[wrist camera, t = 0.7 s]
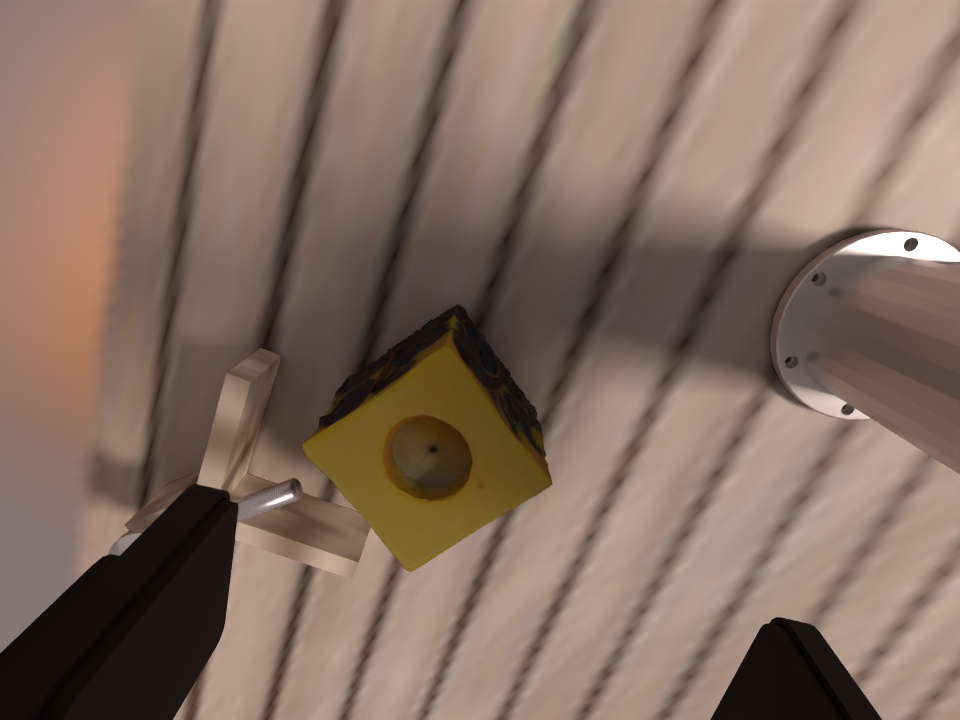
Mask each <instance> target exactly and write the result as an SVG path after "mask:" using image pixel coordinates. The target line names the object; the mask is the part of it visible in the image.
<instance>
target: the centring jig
mask: <svg viewBox="0 0 960 720" xmlns="http://www.w3.org/2000/svg"><path fill="white" fill-rule="evenodd" d="M281 357H282V356H281V355H279V354H276V353H273V352H271V351H268V350H265V349H263V348H260V349H258V350H257V351H256V352H254V353H253V354H252V355H250V356H249V357H248V358H246V359H245V360H243V361H242V362H241V363H239V364H238V365H237V366H235V367H234V368H233V369H231V370H230V371H229V372H227V373H226V377H225V380H224V384H223V388H222V392H221V395H220V399H219V403H218V407H217V410H216V414H215V418H214V422H213V425H212V429H211V433H210V437H209V440H208V444H207V448H206V452H205V455H204V459H203V463H202V467H201V470H200V471H199V472H196V473H194V474H191V475H189V476H186V477H184V478H181V479H179V480H176V481H173V482H171V483H168V484H167V485H166V486H165V487H164V488H163V489H162V490H161V491H160V492H159V493H157V494H156V495H155V496H154V497H153V498H152V499H151V500H150V501H149V502H148V503H147V504H146V505H145V506H144V507H143V508H142V509H141V510H140V511H138V512H137V513H136V514H135V515H134V516H133V517H132V518H131V519H130V520H129V521H128V522H127V523H126V524H125V526H126V527H127V529H128V530H129V531H130V530H132V529H136V528H148V527H149V526H150V525H151V524H152V523H153V522H154V521H155V520H156V519H157V518H158V517H159V516H160V515H161V514H162V513H163V512H164V511H165V510H166V509H167V508H168V507H169V506H170V505H171V504H172V503H173V502H174V501H175V500H176V499H177V498H178V497H179V496H180V495H181V494H182V493H183V492H184V491H185V490H186V489H187V488H188V487H189V486H190V485H192V484H199V485H203V486H207V487H212V488H216V489H220V490H225V491H228V492H229V494H230V501H233V500H236V499H239V498H241V497H244V496H247V495H249V494H252V493H255V492H257V491H260V490H262V489H265V488H268V487H270V486H273V485H276V484H275V483H272V482H270V481H267V480H264V479H261V478H258V477H255V476H252V475H250V474H246V473H247V470H248V467H249V464H250V460H251V457H252V454H253V450H254V447H255V444H256V440H257V437H258V434H259V430H260V427H261V424H262V420H263V417H264V414H265V410H266V407H267V404H268V400H269V397H270V394H271V390H272V387H273V384H274V380H275V377H276V374H277V370H278V367H279V364H280V360H281ZM237 484H238V485H237ZM232 490H233V491H232ZM370 527H371V526H370V525H369V524H368V523H367V522H366V520H365V519H364V518H363V517H362V516H361V515H360V513H358V512H355V511H353V510H350V509H347V508H344V507H341V506H338V505H335V504H333V503H330V502H327V501H324V500H321V499H318V498H315V497H313V496H310V495H307V494H304V493H303V494H302V498H301V499H300V500H297V501H295V502H292V503H289V504H287V505H284V506H281V507H279V508H276V509H273V510H270V511H268V512H265V513H262V514H260V515H257V516H254V517H252V518H249V519H246V520H244V521H241V522H238V523H237V527H236V535H235V540H236V541H239V542H242V543H245V544H248V545H251V546H254V547H257V548H260V549H263V550H266V551H269V552H272V553H275V554H278V555H281V556H284V557H287V558H290V559H293V560H296V561H299V562H302V563H305V564H308V565H311V566H314V567H317V568H320V569H323V570H326V571H329V572H332V573H335V574H338V575H341V576H344V577H347V578H350V579H352V577H353V575H354V572H355V570H356V567H357V565H358V562H359V559H360V556H361V553H362V551H363V548H364V545H365V542H366V539H367V536H368V533H369V530H370Z"/></svg>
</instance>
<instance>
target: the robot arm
mask: <svg viewBox="0 0 960 720" xmlns="http://www.w3.org/2000/svg"><path fill="white" fill-rule="evenodd" d="M813 276H814V278H813ZM812 278H813V279H812ZM770 351H771V356H772V361H773V366H774V368H775V370H776V373H777V375H778V377H779V379H780V381H781V382H782V384H783V385H784V386H785V387H786V389H787V390H788V391H789V393H791V394H792V395H793V396H794V397H795V398H797V399H798V400H799V401H800V402H802V403H803V404H805V405H806V406H808V407H809V408H811V409H813V410H814V411H816V412H819V413H821V414H824V415H827V416H829V417H833V418H838V419H844V420H866V419H873V420H874V421H876V422H877V423H879V424H881V425H882V426H884V427H885V428H887V429H889V430H890V431H892V432H893V433H895V434H896V435H898V436H900V437H901V438H903V439H904V440H906V441H908V442H909V443H911V444H912V445H914V446H916V447H917V448H919V449H920V450H922V451H923V452H925V453H927V454H928V455H930V456H931V457H933V458H935V459H936V460H938V461H939V462H941V463H942V464H944V465H946V466H947V467H949V468H950V469H952V470H954V471H955V472H957V473H958V474H960V252H959V251H958V250H957V249H956V248H955V247H954V246H952V245H951V244H949V243H947V242H945V241H944V240H942V239H940V238H938V237H936V236H932V235H929V234H926V233H922V232H918V231H910V230H903V229H882V230H876V231H871V232H866V233H861V234H858V235H856V236H853V237H850V238H848V239H845V240H843V241H840V242H839V243H837V244H835V245H833V246H832V247H830V248H828V249H827V250H825V251H823V252H822V253H821V254H819V255H818V256H817V257H816V258H814V259H813V260H812V261H811V262H810V263H808V264H807V265H806V266H805V267H804V268H803V269H802V271H801V272H800V273H799V274H798V275H797V276H796V277H795V278H794V280H793V281H792V282H791V284H790V285H789V287H788V288H787V290H786V292H785V293H784V295H783V296H782V298H781V300H780V303H779V305H778V308H777V310H776V312H775V315H774V319H773V324H772V328H771V333H770ZM786 359H787V360H786ZM238 509H239V506H238V503H236V502H232V501H230V494H229V492H228V491H225V490H220V489H216V488H212V487H207V486H203V485H199V484H192V485H190V486H189V487H188V488H187V489H186V490H185V491H184V492H183V493H182V494H181V495H180V496H179V497H178V498H177V499H176V500H175V501H174V502H173V503H172V504H171V505H170V506H169V507H168V508H167V509H166V510H165V511H164V512H163V513H162V514H161V515H160V516H159V517H158V518H157V519H156V520H155V521H154V522H153V523H152V524H151V525H150V526H149V527H148V528H147V529H146V530H145V531H144V532H143V533H142V534H141V535H140V536H139V537H138V538H137V539H136V540H135V541H134V542H133V543H132V544H131V545H130V546H129V547H128V548H127V549H126V550H125V551H124V552H123V553H122V554H121V555H120V556H118V555H113V554H109V555H107V556H104V557H102V558H101V559H100V560H98V561H97V562H96V563H95V564H93V565H92V566H91V567H90V568H89V569H88V570H87V571H86V572H85V573H84V574H83V575H82V576H81V577H80V578H79V579H78V580H77V581H76V582H75V583H73V584H72V585H71V586H70V587H69V588H68V589H67V590H66V591H65V592H64V593H63V594H62V595H61V596H60V597H59V598H58V599H57V600H56V601H55V602H54V603H53V604H52V605H50V606H49V607H48V609H46V610H45V611H44V612H43V613H42V614H41V615H40V616H39V617H38V618H37V619H36V620H35V621H34V622H33V623H32V624H31V625H30V626H29V627H28V628H27V629H25V630H24V631H23V632H22V633H21V634H20V635H19V636H18V637H17V638H16V639H15V640H14V641H13V642H12V643H11V644H10V645H9V646H8V647H7V648H6V649H5V650H4V651H2V652H1V653H0V720H173V718H174V717H175V715H176V713H177V712H178V710H179V708H180V707H181V705H182V703H183V702H184V700H185V698H186V697H187V695H188V693H189V692H190V690H191V688H192V687H193V685H194V683H195V682H196V680H197V678H198V677H199V675H200V673H201V672H202V670H203V668H204V666H205V665H206V663H207V661H208V660H209V658H210V656H211V655H212V653H213V651H214V650H215V648H216V646H217V644H218V642H219V640H220V638H221V635H222V632H223V629H224V625H225V619H226V610H227V602H228V594H229V585H230V577H231V569H232V560H233V552H234V544H235V535H236V527H237V518H238ZM711 720H882V719H881V717H880V716H879V715H878V713H877V712H876V710H875V709H874V708H873V706H872V705H871V703H870V702H869V701H868V699H867V698H866V696H865V695H864V694H863V692H862V691H861V689H860V688H859V687H858V685H857V684H856V682H855V681H854V680H853V678H852V677H851V675H850V674H849V673H848V671H847V670H846V668H845V667H844V666H843V664H842V663H841V661H840V660H839V659H838V657H837V656H836V654H835V653H834V652H833V650H832V649H831V647H830V646H829V645H828V643H827V642H826V640H825V639H824V638H823V636H822V635H821V633H820V632H819V631H818V630H817V629H816V628H815V627H814V626H812V625H810V624H807V623H803V622H799V621H794V620H790V619H785V618H779V617H776V618H774V619H772V620H771V622H770V623H769V624H764V625H763V626H762V627H761V628H760V630H759V632H758V634H757V636H756V637H755V639H754V641H753V643H752V645H751V647H750V648H749V650H748V652H747V654H746V656H745V658H744V659H743V661H742V663H741V665H740V667H739V669H738V670H737V672H736V674H735V676H734V678H733V679H732V681H731V683H730V685H729V687H728V689H727V690H726V692H725V694H724V696H723V698H722V700H721V701H720V703H719V705H718V707H717V709H716V711H715V712H714V714H713V716H712V718H711Z"/></svg>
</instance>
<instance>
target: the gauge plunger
mask: <svg viewBox="0 0 960 720" xmlns="http://www.w3.org/2000/svg"><path fill="white" fill-rule="evenodd" d="M302 494H303V491H302V487H301V484H300V482H299V481H298V480H297V479H296V478H291V479H289V480H286V481H284V482H281V483H278V484H276V485H273V486H270V487H268V488H265V489H262V490H260V491H257V492H255V493H252V494H249V495H247V496H244V497H241V498H239V499H236V500H233V501H232V502H236V503H238V506H239V509H238V518H237V523H238V522H241V521H244V520H246V519H249V518H252V517H254V516H257V515H260V514H262V513H265V512H268V511H270V510H273V509H276V508H279V507H281V506H284V505H287V504H289V503H292V502H295V501H297V500H300V499H301V498H302ZM146 529H147V528H136V529H132V530H130V531H128V532H126V533H125V534H123V535H122V536H121V537H120V538H119V539H118V540H117V541H116V542H115V543H114V544H113V545H112V547H111V548H110V550H109V553H108V555H109V554H113V555H118V556H120V555H121V554H122V553H123V552H124V551H125V550H126V549H127V548H128V547H129V546H130V545H131V544H132V543H133V542H134V541H135V540H136V539H137V538H138V537H139V536H140V535H141V534H142V533H143V532H144V531H145V530H146Z"/></svg>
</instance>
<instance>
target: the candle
mask: <svg viewBox="0 0 960 720" xmlns="http://www.w3.org/2000/svg"><path fill="white" fill-rule="evenodd" d="M541 431H542V428H541V425H540V422H539V421H538V420H537V412H536V409H535V407H534V406H532V405H531V404H530V402H529V401H528V400H527V399H526V398H525V395H524V393H523V391H522V390H520V389H519V388H518V385H516V383H515V382H514V380H513V378H512V377H511V376H510V372H509V371H508V370H507V369H506V368H505V366H504V365H503V363H502V362H501V361H500V360H499V359H498V358H497V356H496V355H495V354H494V352H493V350H492V348H491V347H490V345H489V344H488V343H487V341H486V340H485V338H484V336H483V335H482V334H480V333H479V332H478V331H477V330H476V328H475V326H474V324H473V322H472V321H471V320H470V319H469V318H468V315H467V313H466V310H465V309H464V308H462V307H461V306H459V305H456V306H455V307H453V308H451V309H449V310H447V311H446V312H444V313H443V314H441V315H440V316H438V317H437V318H436V319H433V320H430V321H429V322H428V323H427V324H425V325H424V326H423V327H422V328H421V330H417V331H415V332H414V333H413V334H412V335H410V336H409V337H408V338H407V339H405V340H403V341H402V342H400V343H398V344H397V345H395V346H394V347H393V348H391V349H388V352H387V353H386V354H385V355H383V356H382V357H380V358H379V359H378V360H377V361H375V362H373V363H371V364H370V365H368V366H367V367H365V368H364V369H363V370H361V371H360V372H359V373H357V374H355V375H351V376H349V377H348V378H347V379H346V380H345V381H344V383H343V385H342V387H340V388H339V389H338V391H337V392H336V393H335V397H334V400H333V403H332V405H331V407H330V409H329V411H328V413H327V415H325V416H322V417H320V422H319V427H318V429H317V430H316V431H315V432H314V433H313V434H312V435H310V436H309V437H308V438H307V439H306V440H305V441H304V442H303V444H302V445H301V446H302V449H303V451H304V454H305V456H306V457H307V458H308V459H309V460H310V461H311V462H312V463H313V464H314V465H315V466H317V467H318V468H319V469H320V470H321V471H322V472H323V473H324V474H325V475H326V476H327V477H328V478H330V479H331V480H332V481H333V482H334V484H335V485H336V487H337V488H338V489H339V491H340V492H341V493H342V495H343V496H344V497H345V498H346V499H347V500H348V501H349V502H350V503H351V504H352V505H353V506H354V508H355V509H356V510H357V511H358V512H359V513H360V515H361V516H362V517H363V518H364V519H365V520H366V522H367V523H368V524H369V525H370V526H371V528H372V529H373V530H374V532H375V533H376V534H377V535H378V537H379V538H380V539H381V540H382V542H383V543H384V544H385V545H386V547H387V548H388V549H389V550H390V551H391V553H392V554H393V555H394V556H395V557H396V559H397V560H398V561H399V563H400V564H401V565H402V566H403V568H405V569H406V570H408V571H411V572H412V571H414V570H415V569H417V568H419V567H420V566H422V565H424V564H425V563H427V562H428V561H430V560H431V559H433V558H434V557H436V556H437V555H439V554H441V553H442V552H444V551H445V550H447V549H449V548H450V547H452V546H453V545H455V544H456V543H458V542H459V541H461V540H462V539H464V538H465V537H467V536H468V535H470V534H472V533H473V532H475V531H476V530H478V529H480V528H481V527H483V526H485V525H486V524H488V523H489V522H491V521H493V520H494V519H496V518H498V517H499V516H501V515H503V514H504V513H506V512H508V511H509V510H511V509H513V508H515V507H516V506H518V505H520V504H521V503H523V502H525V501H527V500H529V499H530V498H532V497H534V496H536V495H538V494H539V493H541V492H542V491H543V490H545V489H546V488H548V487H549V486H551V485H552V480H551V476H550V473H549V470H548V464H547V462H546V460H545V456H546V453H545V450H544V444H543V434H542V432H541Z"/></svg>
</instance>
